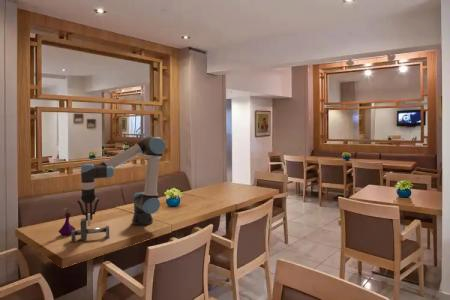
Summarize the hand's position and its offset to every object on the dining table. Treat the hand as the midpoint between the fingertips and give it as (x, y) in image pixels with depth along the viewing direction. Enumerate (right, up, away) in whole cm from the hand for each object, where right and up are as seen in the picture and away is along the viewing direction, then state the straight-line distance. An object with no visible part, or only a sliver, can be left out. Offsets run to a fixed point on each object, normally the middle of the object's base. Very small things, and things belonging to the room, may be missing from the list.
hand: (89, 225), depth 199 cm
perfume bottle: (-19, -9, +9) cm, 23 cm away
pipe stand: (+1, -9, +1) cm, 9 cm away
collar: (-3, -9, -1) cm, 10 cm away
